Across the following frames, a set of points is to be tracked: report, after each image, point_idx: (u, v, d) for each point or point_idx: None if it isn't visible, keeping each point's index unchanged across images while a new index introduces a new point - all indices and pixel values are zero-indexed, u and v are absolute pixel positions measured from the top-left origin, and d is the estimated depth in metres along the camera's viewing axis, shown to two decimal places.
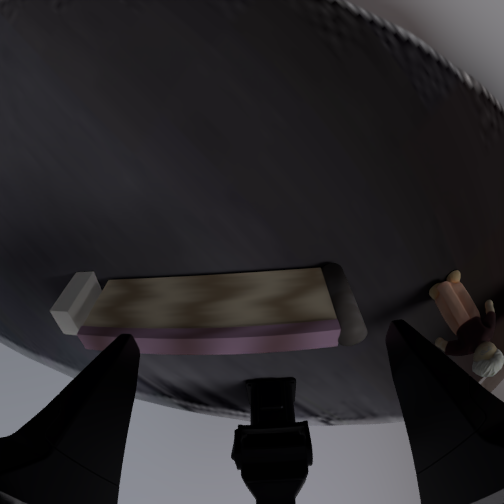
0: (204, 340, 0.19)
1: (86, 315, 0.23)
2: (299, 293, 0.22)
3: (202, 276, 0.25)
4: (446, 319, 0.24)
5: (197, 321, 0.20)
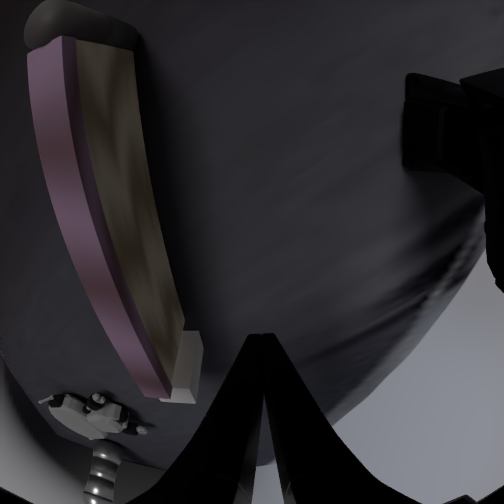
0: (77, 261, 0.11)
1: (183, 367, 0.21)
2: None
3: None
4: None
5: None
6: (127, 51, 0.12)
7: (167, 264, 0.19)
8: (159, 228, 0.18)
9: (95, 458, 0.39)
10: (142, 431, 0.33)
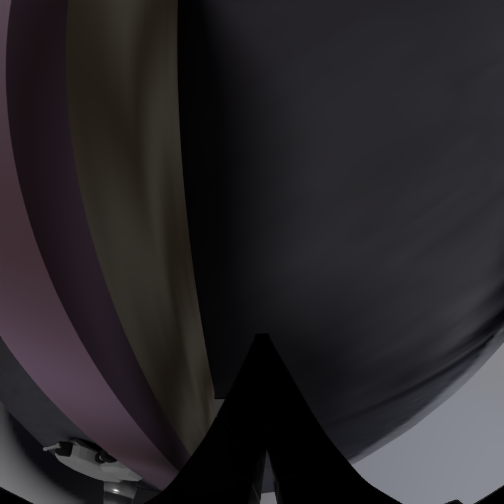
0: (86, 429, 0.04)
1: None
2: None
3: None
4: None
5: None
6: None
7: (202, 340, 0.13)
8: (196, 295, 0.12)
9: (107, 493, 0.32)
10: None
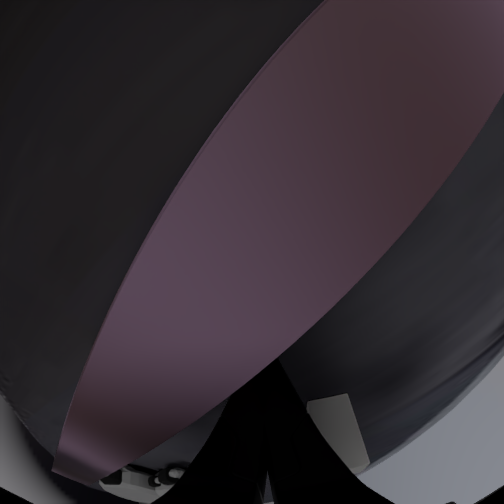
0: (97, 387, 0.03)
1: (352, 441, 0.15)
2: None
3: None
4: None
5: None
6: None
7: None
8: None
9: None
10: None
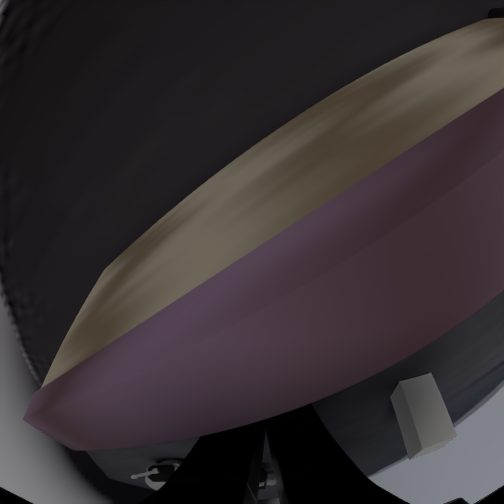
0: None
1: (441, 416, 0.14)
2: None
3: (297, 116, 0.08)
4: None
5: (386, 142, 0.03)
6: None
7: None
8: None
9: None
10: (273, 483, 0.27)
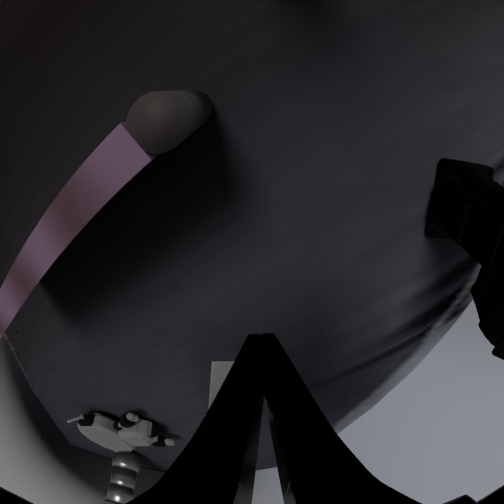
0: (20, 259, 0.11)
1: None
2: None
3: None
4: None
5: None
6: None
7: None
8: None
9: (115, 467, 0.41)
10: (170, 443, 0.36)
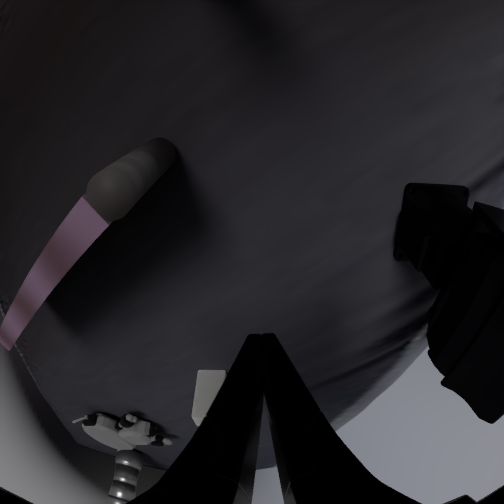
0: (22, 291, 0.14)
1: None
2: None
3: None
4: None
5: None
6: None
7: None
8: None
9: (118, 465, 0.44)
10: (167, 442, 0.39)
